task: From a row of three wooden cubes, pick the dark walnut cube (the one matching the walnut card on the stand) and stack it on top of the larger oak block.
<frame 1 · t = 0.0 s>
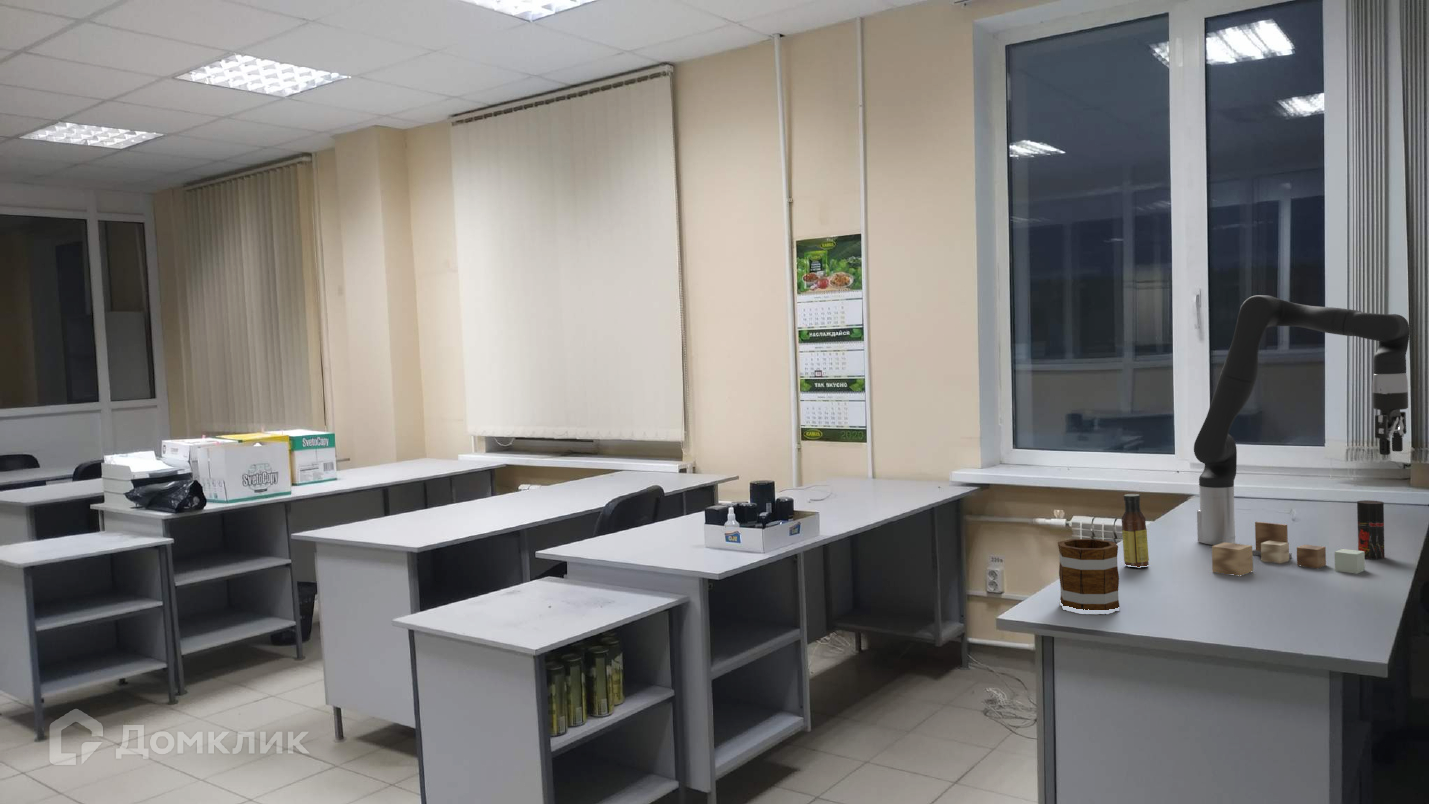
hand: (1391, 452, 248), 29 cm above the table, tool pointing down, fingers open, 8 cm apart
sauce bottle: (1135, 567, 260), on the table
oak base block: (1232, 572, 249), on the table
deodorant: (1371, 557, 259), on the table
walnut card: (1271, 556, 265), on the table
mug: (1092, 605, 225), on the table
sage painted cube: (1349, 570, 245), on the table
birch cube: (1275, 561, 259), on the table
walnut cube: (1311, 565, 252), on the table
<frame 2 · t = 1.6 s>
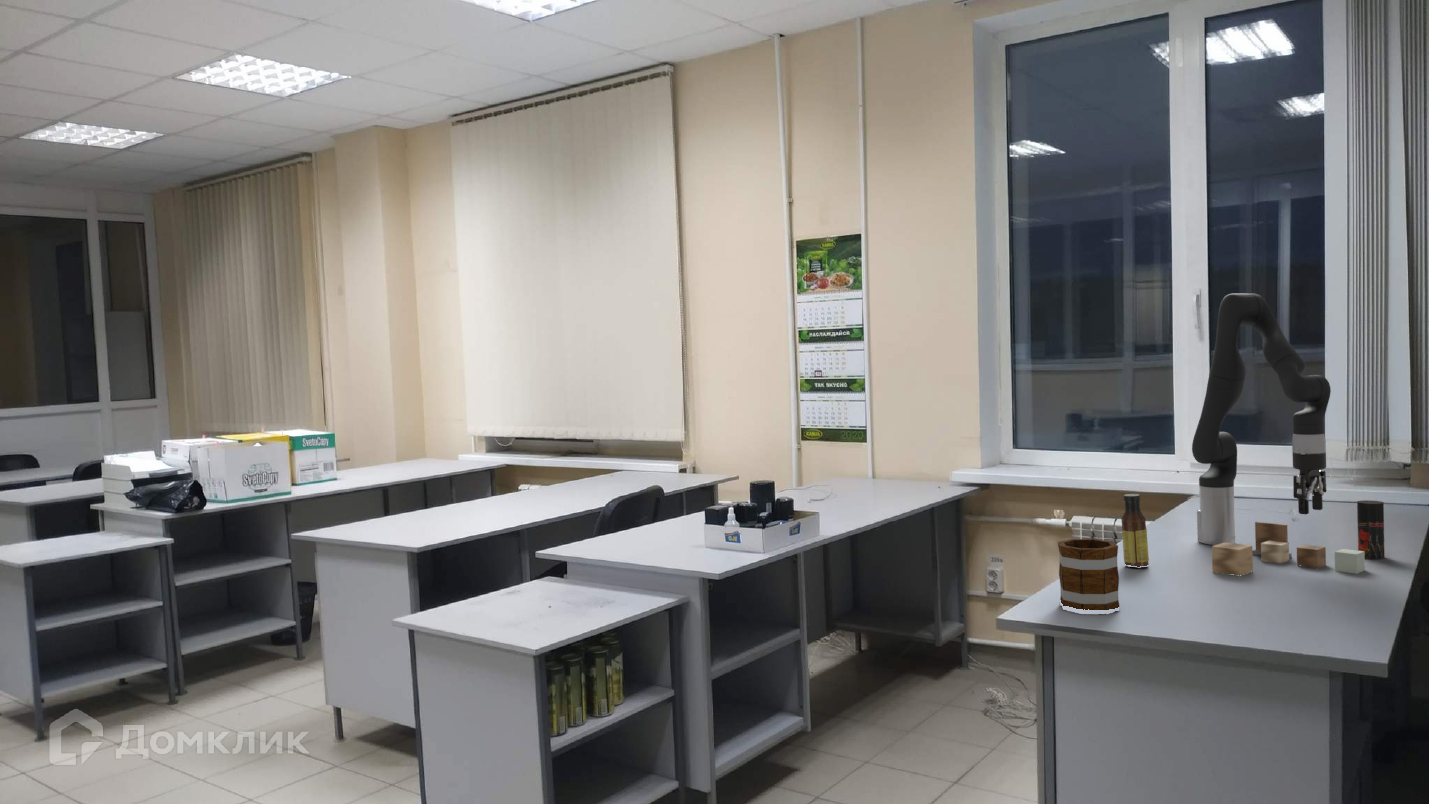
hand: (1310, 511, 252), 14 cm above the table, tool pointing down, fingers open, 8 cm apart
nothing on the table moved.
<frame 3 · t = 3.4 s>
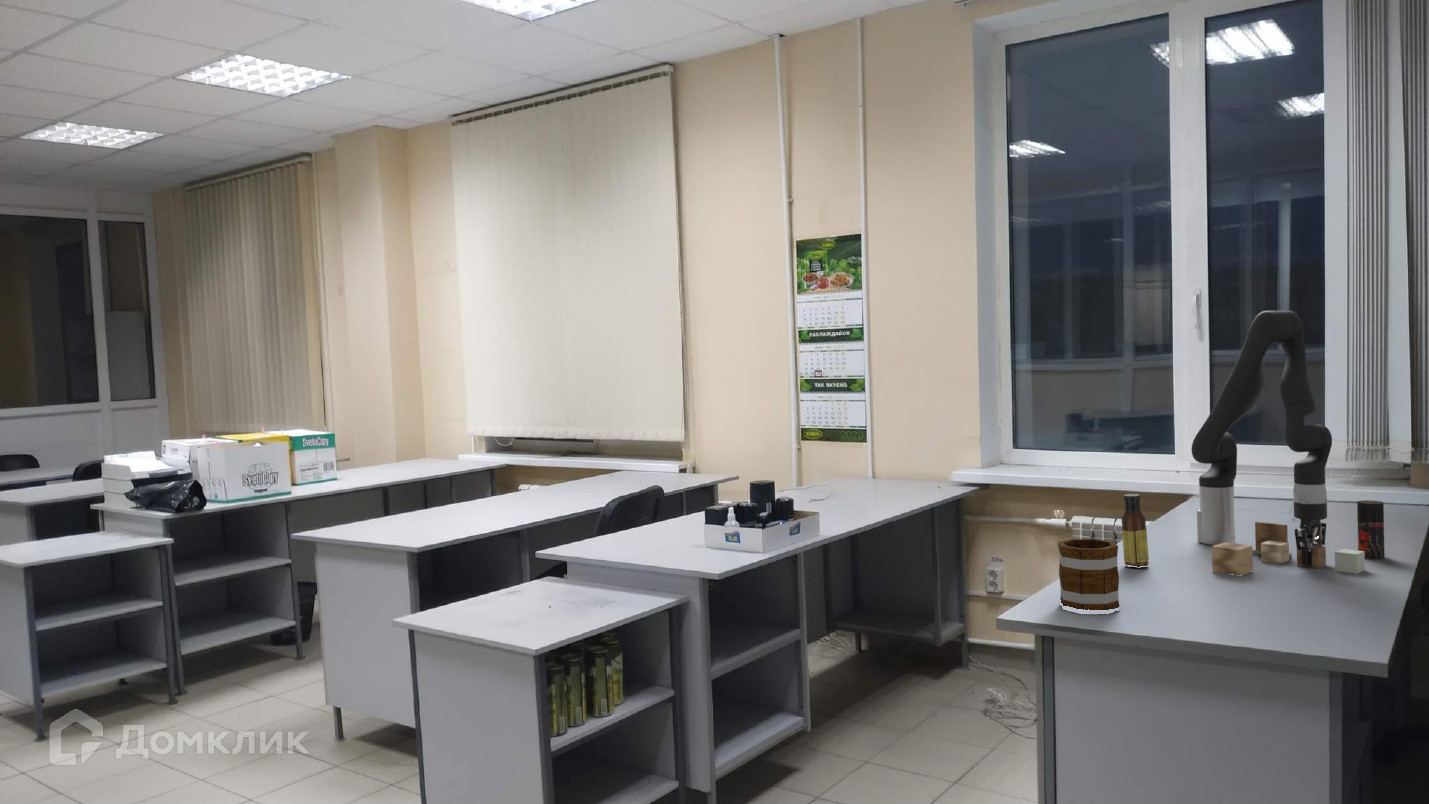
hand: (1311, 563, 252), 0 cm above the table, tool pointing down, fingers closed on walnut cube, 5 cm apart
walnut cube: (1311, 565, 252), on the table, touching gripper
everything else where it was.
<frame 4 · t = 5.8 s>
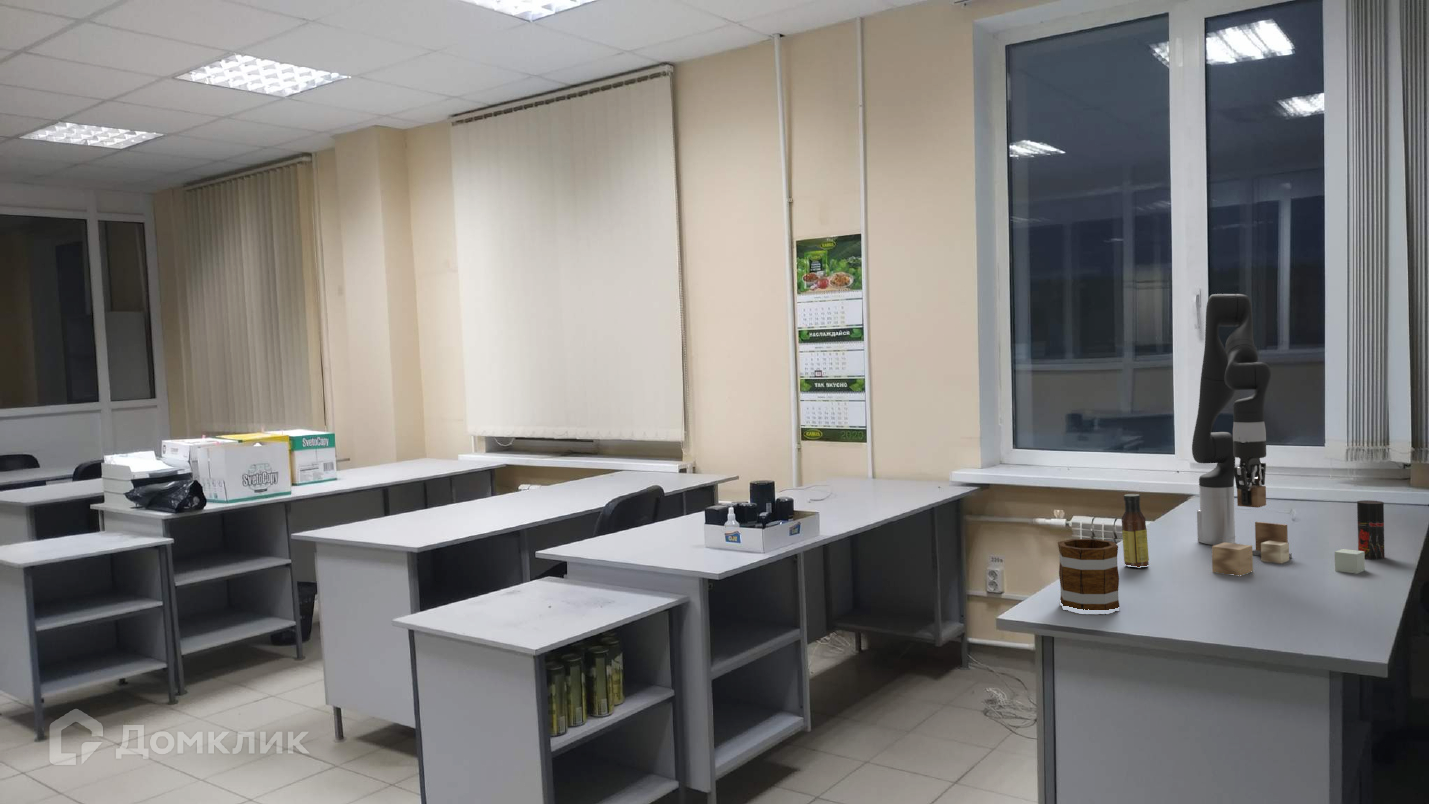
hand: (1251, 503, 249), 18 cm above the table, tool pointing down, fingers closed on walnut cube, 5 cm apart
walnut cube: (1251, 505, 249), point 17 cm above the table, touching gripper
everything else where it was.
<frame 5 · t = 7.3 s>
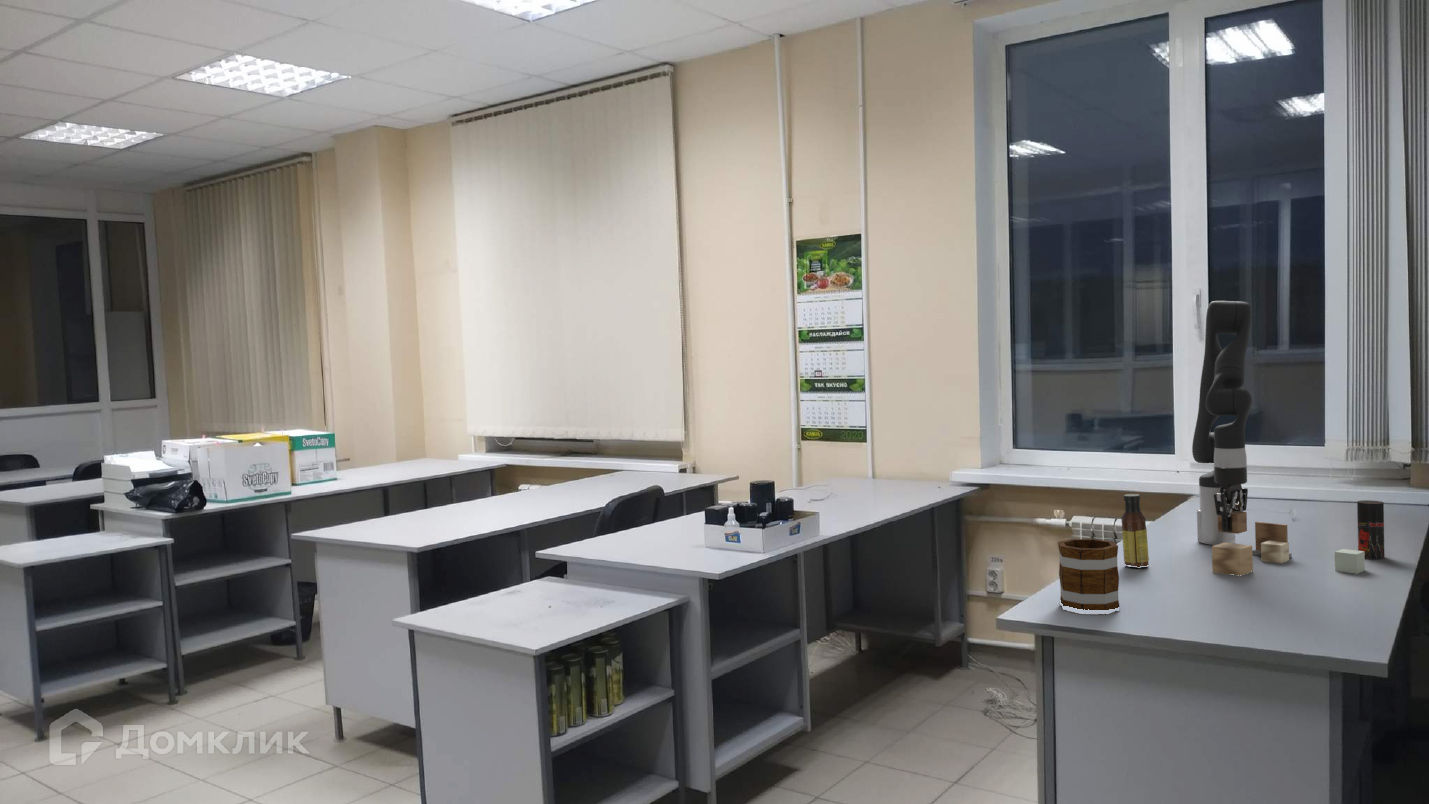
hand: (1232, 529, 249), 11 cm above the table, tool pointing down, fingers closed on walnut cube, 5 cm apart
walnut cube: (1232, 531, 249), point 11 cm above the table, touching gripper
everything else where it was.
when the fingers open (9 cm above the table, at t = 8.3 s): walnut cube drops 1 cm, resting on oak base block.
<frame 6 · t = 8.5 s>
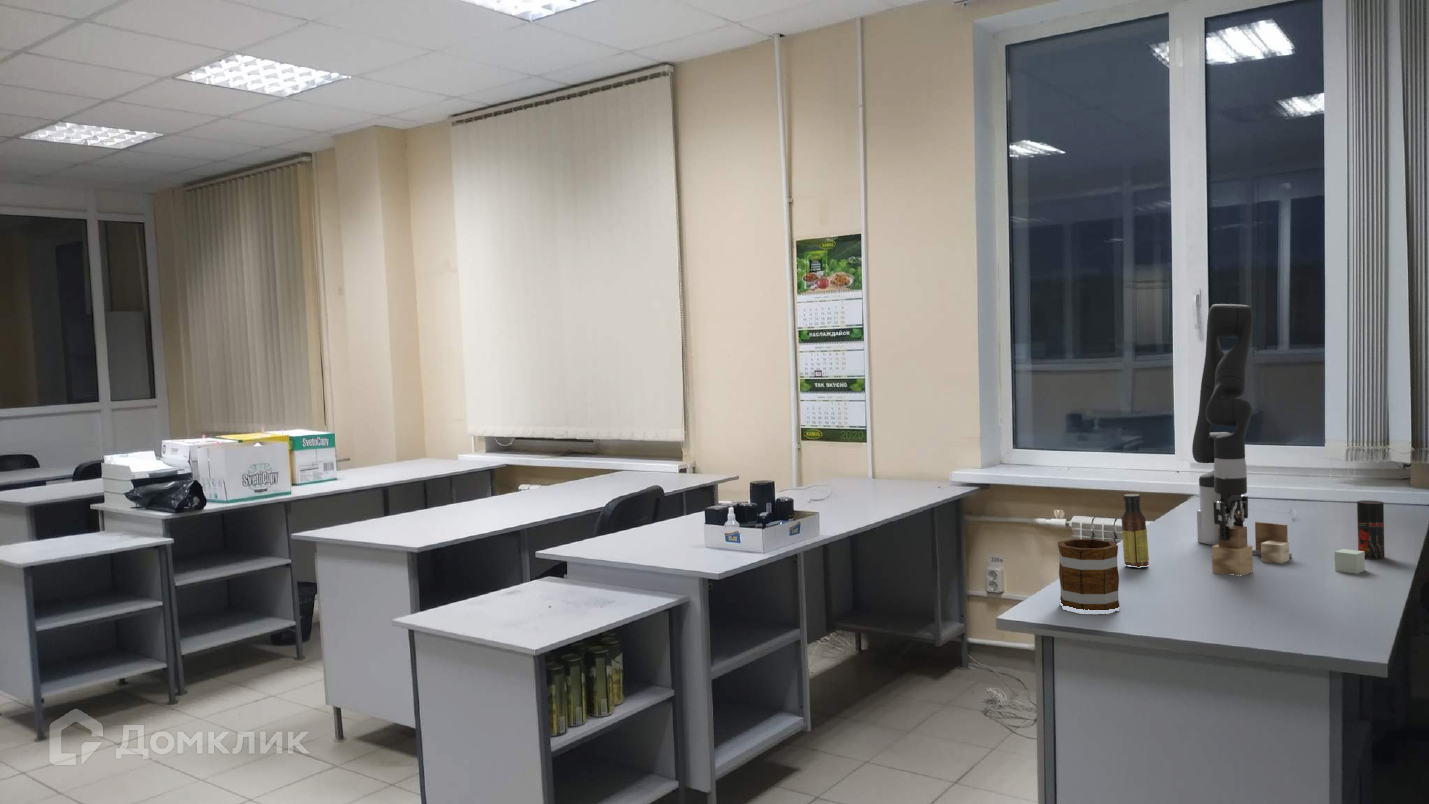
hand: (1231, 538, 249), 9 cm above the table, tool pointing down, fingers open, 7 cm apart
oak base block: (1232, 572, 249), on the table, touching walnut cube
walnut cube: (1232, 546, 249), point 7 cm above the table, touching oak base block
everything else where it was.
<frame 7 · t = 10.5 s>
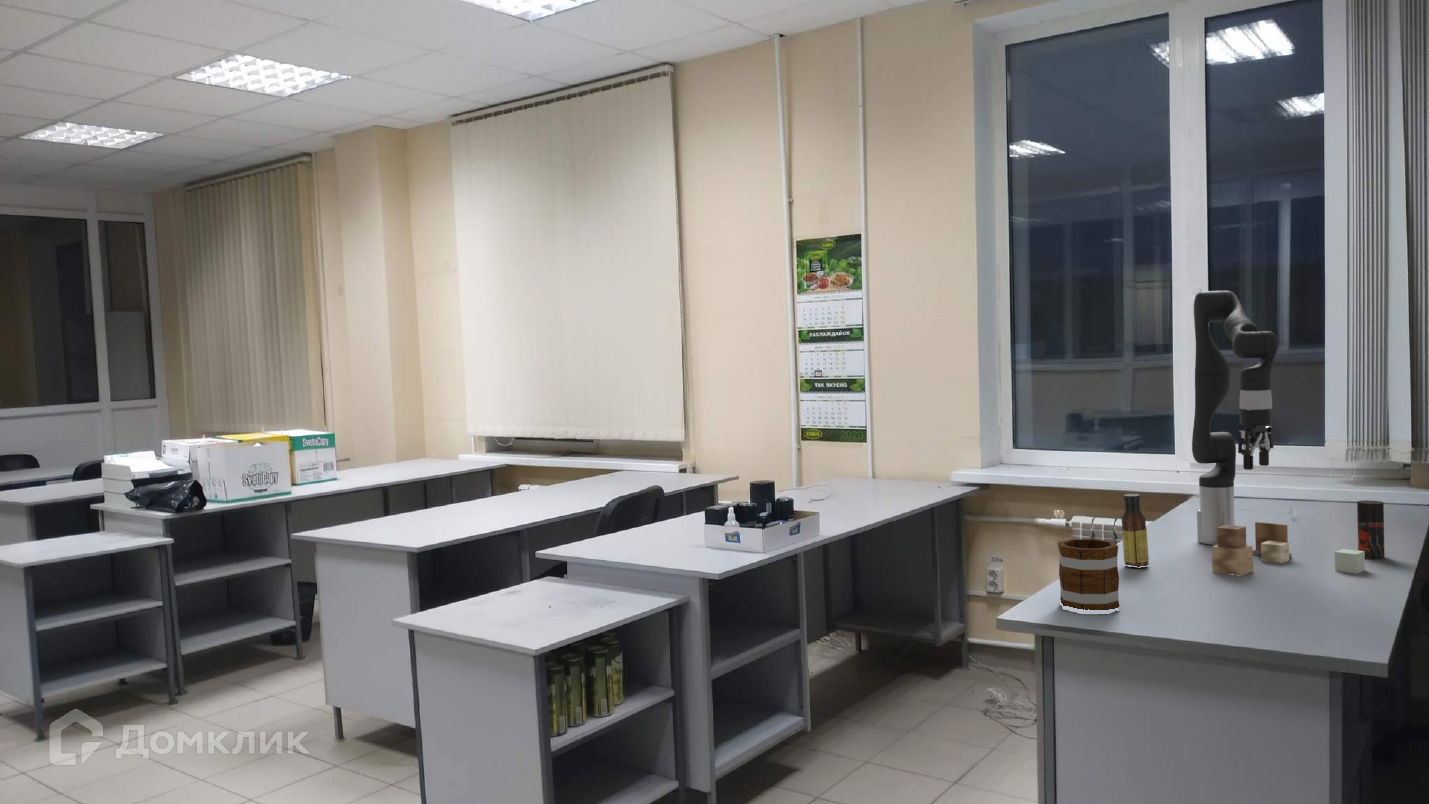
hand: (1256, 467, 253), 26 cm above the table, tool pointing down, fingers open, 8 cm apart
nothing on the table moved.
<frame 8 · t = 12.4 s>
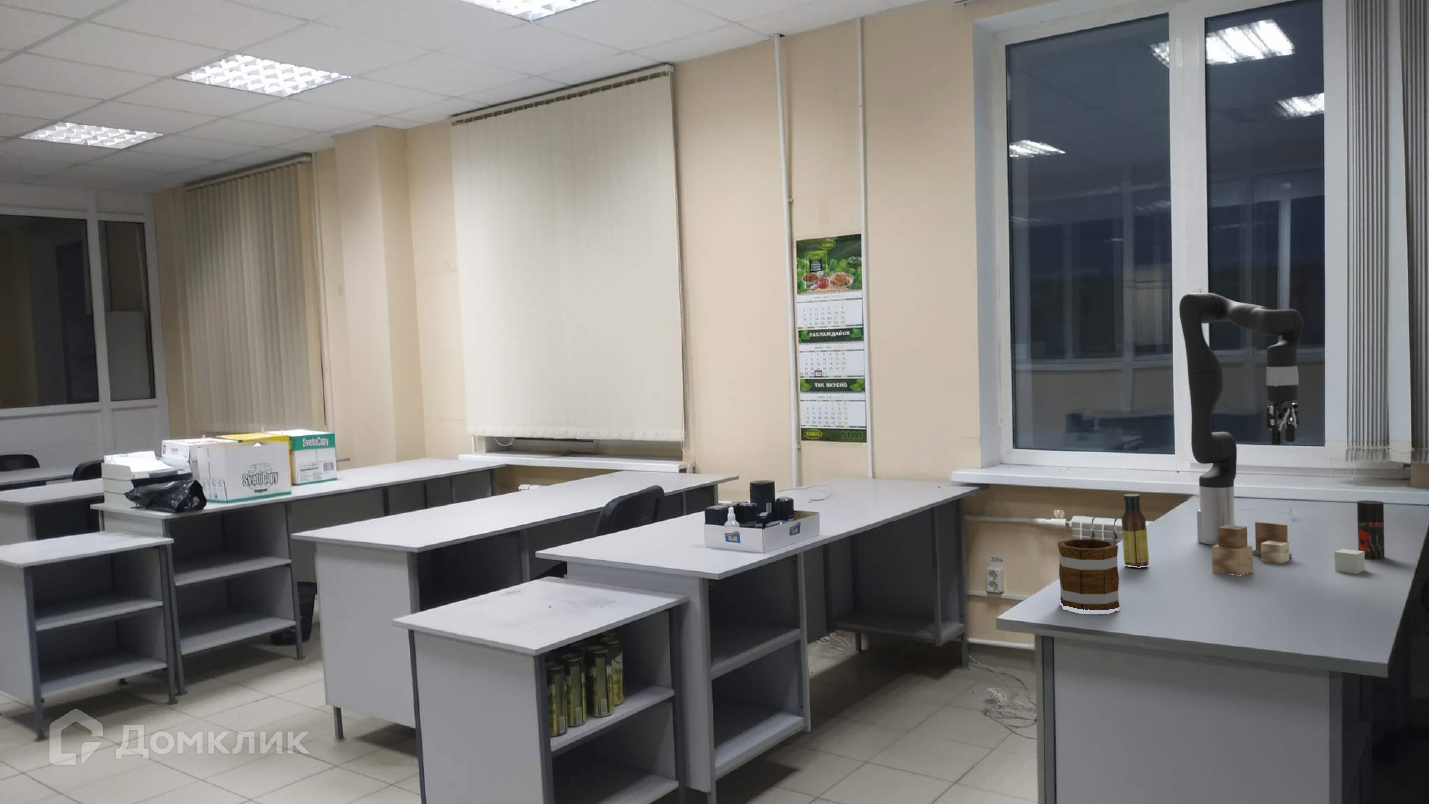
hand: (1283, 443, 258), 32 cm above the table, tool pointing down, fingers open, 8 cm apart
nothing on the table moved.
at the end: walnut cube 0.2 cm off-centre on the oak base block, point 7.0 cm above the oak base block's base; walnut cube tilted 0°; the gripper is holding nothing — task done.
